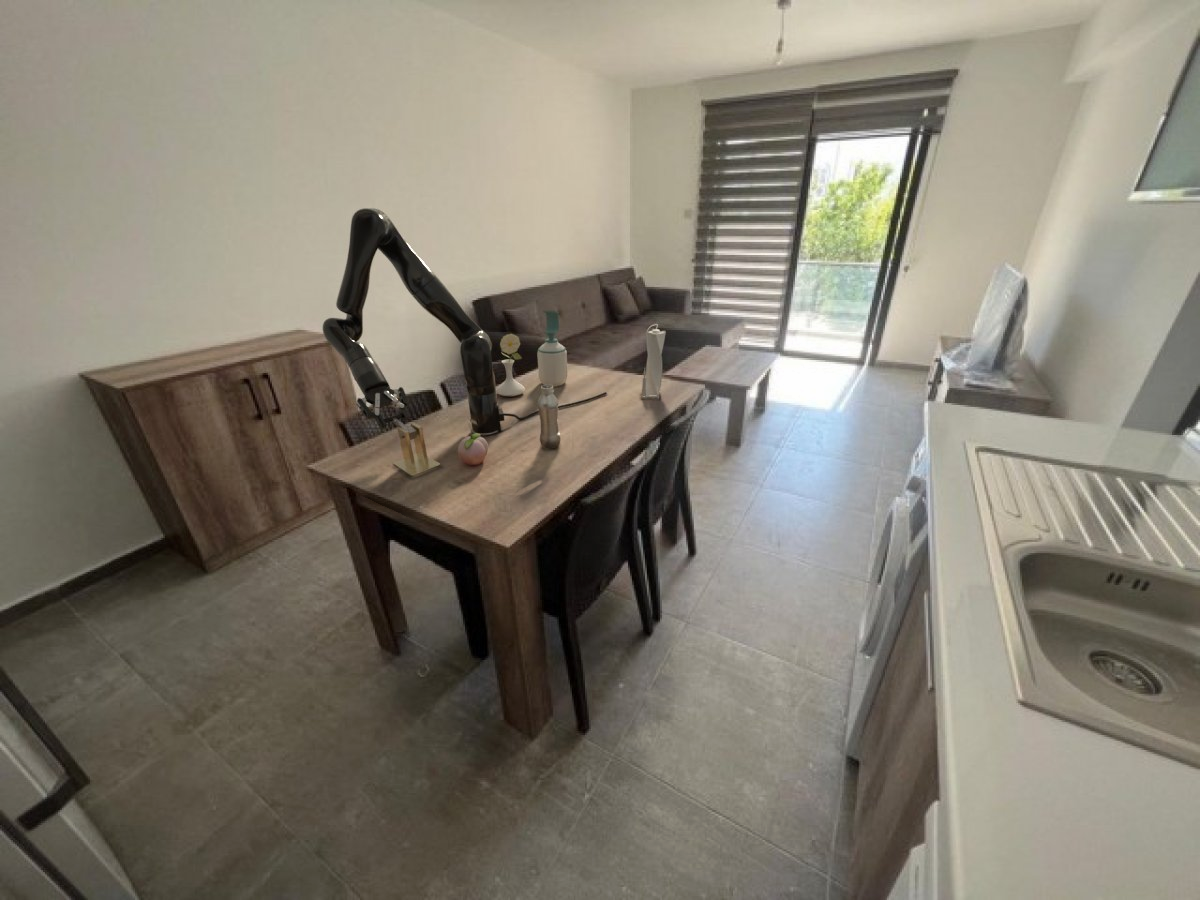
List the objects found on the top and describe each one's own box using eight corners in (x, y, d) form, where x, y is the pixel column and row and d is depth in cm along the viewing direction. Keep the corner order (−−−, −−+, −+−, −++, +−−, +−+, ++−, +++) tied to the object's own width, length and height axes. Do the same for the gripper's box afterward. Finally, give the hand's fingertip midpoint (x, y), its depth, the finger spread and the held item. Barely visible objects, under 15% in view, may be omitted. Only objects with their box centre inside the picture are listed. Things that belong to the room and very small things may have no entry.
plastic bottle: (564, 443, 153) (561, 384, 144) (555, 452, 148) (552, 391, 139) (545, 440, 155) (542, 381, 146) (536, 449, 150) (532, 389, 141)
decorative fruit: (465, 457, 145) (460, 427, 141) (492, 457, 145) (488, 427, 140) (456, 472, 137) (451, 441, 132) (484, 473, 136) (480, 441, 132)
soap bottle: (535, 387, 202) (530, 312, 188) (543, 378, 213) (539, 306, 199) (564, 388, 200) (561, 312, 186) (570, 379, 211) (568, 307, 197)
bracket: (393, 466, 140) (384, 427, 134) (421, 456, 146) (414, 417, 140) (412, 479, 133) (404, 438, 128) (441, 467, 139) (434, 427, 134)
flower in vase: (490, 395, 194) (484, 333, 183) (510, 387, 202) (505, 328, 191) (514, 401, 187) (508, 338, 176) (533, 393, 196) (529, 332, 184)
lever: (381, 424, 139) (380, 417, 138) (401, 418, 143) (400, 411, 142) (403, 442, 133) (402, 435, 131) (423, 435, 137) (422, 428, 135)
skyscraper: (642, 392, 196) (645, 323, 184) (662, 392, 195) (666, 323, 183) (641, 399, 189) (643, 327, 176) (661, 400, 188) (666, 328, 175)
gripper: (345, 375, 134) (374, 426, 132) (394, 364, 143) (422, 411, 141) (342, 389, 139) (369, 437, 138) (389, 377, 149) (416, 422, 147)
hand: (396, 424), depth 139 cm, fingers closed on lever, 6 cm apart
